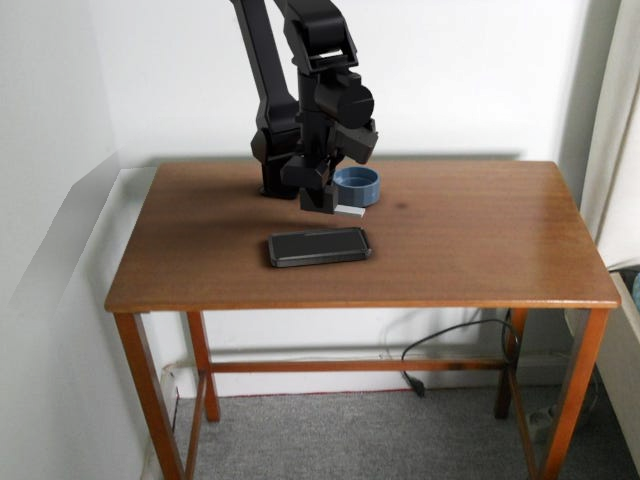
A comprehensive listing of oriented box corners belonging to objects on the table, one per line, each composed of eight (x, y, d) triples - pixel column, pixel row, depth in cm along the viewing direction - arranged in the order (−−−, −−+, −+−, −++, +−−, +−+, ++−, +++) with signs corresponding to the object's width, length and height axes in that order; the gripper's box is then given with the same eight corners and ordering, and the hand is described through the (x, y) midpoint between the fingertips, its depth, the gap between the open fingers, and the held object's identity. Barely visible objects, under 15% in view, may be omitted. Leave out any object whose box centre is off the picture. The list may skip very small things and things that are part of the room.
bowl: (326, 205, 113) (325, 184, 110) (340, 184, 119) (339, 163, 116) (372, 212, 112) (373, 190, 109) (384, 190, 118) (385, 169, 115)
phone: (372, 252, 100) (271, 261, 98) (372, 258, 101) (272, 267, 99) (362, 225, 106) (267, 233, 104) (362, 231, 107) (267, 239, 104)
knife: (300, 210, 106) (299, 189, 104) (305, 202, 108) (304, 181, 106) (361, 218, 105) (361, 197, 102) (365, 211, 106) (365, 190, 104)
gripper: (355, 137, 87) (355, 241, 98) (388, 88, 101) (385, 183, 111) (275, 127, 89) (283, 229, 100) (318, 80, 103) (321, 174, 113)
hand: (322, 203), depth 106 cm, fingers closed on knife, 2 cm apart
